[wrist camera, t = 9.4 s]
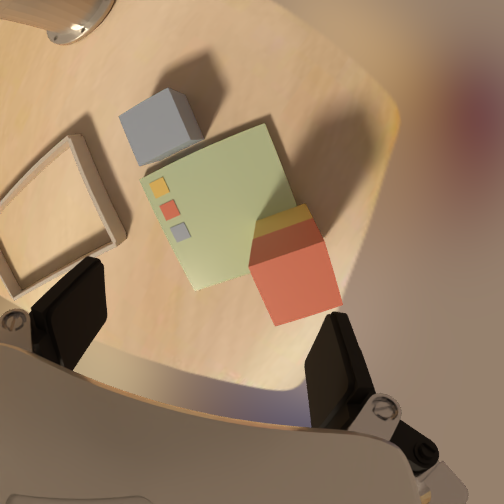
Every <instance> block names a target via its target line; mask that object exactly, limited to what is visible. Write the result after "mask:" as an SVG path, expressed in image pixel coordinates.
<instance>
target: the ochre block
mask: <svg viewBox="0 0 504 504" xmlns="http://www.w3.org/2000/svg"><path fill="white" fill-rule="evenodd" d="M311 218H313V217H312V215H311V213H310V211H309V209H308V207H307V206H306V204H302V205H299V206H296V207H293V208H291V209H288V210H285V211H282V212H279V213H277V214H274V215H271V216H268V217H266V218H263V219H260V220H257V221H256V223H255V230H254V236H253V239H255V238H257V237H260V236H263V235H266V234H269V233H271V232H274V231H277V230H280V229H283V228H285V227H288V226H291V225H294V224H297V223H300V222H302V221H305V220H308V219H311ZM313 220H314V219H313Z"/></svg>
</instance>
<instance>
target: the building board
mask: <svg viewBox="0 0 504 504" xmlns="http://www.w3.org/2000/svg"><path fill="white" fill-rule="evenodd" d="M140 183H141V185H142V187H143V189H144V191H145V193H146V196H147V198H148V200H149V202H150V204H151V206H152V208H153V211H154V213H155V215H156V217H157V219H158V221H159V223H160V225H161V227H162V229H163V231H164V233H165V235H166V237H167V239H168V241H169V243H170V245H171V247H172V249H173V251H174V253H175V255H176V257H177V259H178V261H179V262H180V264H181V266H182V268H183V270H184V272H185V274H186V276H187V277H188V279H189V281H190V283H191V285H192V287H193V289H194V290H195V291H197V290H200V289H204V288H207V287H210V286H213V285H216V284H219V283H222V282H225V281H228V280H231V279H234V278H237V277H241V276H244V275H247V274H250V273H251V272H250V270H249V268H248V265H249V259H250V252H251V246H252V240H253V236H254V230H255V223H256V221H257V220H260V219H263V218H266V217H268V216H271V215H274V214H277V213H279V212H282V211H285V210H288V209H291V208H293V207H296V206H297V205H296V202H295V199H294V197H293V194H292V191H291V188H290V186H289V183H288V180H287V178H286V175H285V173H284V170H283V167H282V165H281V162H280V160H279V157H278V155H277V152H276V150H275V147H274V145H273V142H272V140H271V137H270V135H269V132H268V130H267V128H266V125H265V123H264V124H261V125H258V126H256V127H253V128H250V129H248V130H245V131H243V132H240V133H238V134H235V135H233V136H230V137H228V138H226V139H223V140H221V141H219V142H216V143H214V144H212V145H209V146H207V147H205V148H203V149H200V150H198V151H196V152H194V153H192V154H190V155H187V156H185V157H183V158H181V159H179V160H177V161H175V162H173V163H171V164H169V165H167V166H165V167H163V168H161V169H159V170H157V171H155V172H153V173H151V174H149V175H148V176H146V177H144V178H142V179H140Z"/></svg>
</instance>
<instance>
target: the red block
mask: <svg viewBox="0 0 504 504" xmlns="http://www.w3.org/2000/svg"><path fill="white" fill-rule="evenodd" d="M248 268H249V270H250V272H251V275H252V277H253V279H254V281H255V283H256V286H257V288H258V290H259V292H260V294H261V297H262V299H263V301H264V303H265V305H266V308H267V310H268V312H269V314H270V316H271V319H272V321H273V323H274V325H275V326H278V325H281V324H285V323H288V322H291V321H295V320H298V319H301V318H304V317H308V316H311V315H314V314H317V313H320V312H323V311H326V310H329V309H332V308H335V307H338V306H341V305H343V303H342V300H341V296H340V292H339V289H338V285H337V282H336V278H335V275H334V271H333V268H332V265H331V261H330V258H329V255H328V251H327V248H326V245H325V242H324V240H323V237H322V235H321V233H320V231H319V229H318V227H317V226H316V224H315V222H314V220H313V218H311V219H308V220H305V221H302V222H300V223H297V224H294V225H291V226H288V227H285V228H283V229H280V230H277V231H274V232H271V233H269V234H266V235H263V236H260V237H257V238H255V239H253V240H252V246H251V252H250V259H249V265H248Z"/></svg>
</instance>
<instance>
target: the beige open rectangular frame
mask: <svg viewBox="0 0 504 504" xmlns="http://www.w3.org/2000/svg"><path fill="white" fill-rule="evenodd" d="M69 147H70V148H71V151H72V154H73V156H74V159H75V161H76V164H77V166H78V169H79V171H80V174H81V176H82V179H83V181H84V183H85V186H86V188H87V190H88V192H89V195H90V197H91V199H92V201H93V204H94V206H95V208H96V210H97V212H98V214H99V216H100V218H101V220H102V222H103V225H104V227H105V229H106V231H107V233H108V234H109V236H110V238H111V240H112V241H111V242H109V243H107V244H105V245H103V246H101V247H99V248H97V249H95V250H93V251H91V252H90V253H88V254H86V255H84V256H82V257H80V258H78V259H76V260H74V261H73V262H71V263H69V264H67V265H65V266H64V267H62V268H60V269H58V270H56V271H55V272H53V273H51V274H49V275H48V276H46V277H44V278H42V279H41V280H39V281H37V282H35V283H34V284H32V285H30V286H29V287H27V288H25V289H24V290H21V288H20V287H19V285H18V283H17V281H16V279H15V277H14V276H13V274H12V272H11V270H10V268H9V266H8V264H7V262H6V260H5V258H4V256H3V254H2V252H1V249H0V278H1V279H2V281H3V283H4V285H5V287H6V289H7V291H8V292H9V294H10V296H11V298H13V300H14V301H15V300H17V299H18V298H20V297H22V296H24V295H25V294H27V293H29V292H31V291H32V290H34V289H36V288H38V287H40V286H41V285H43V284H45V283H47V282H49V281H51V280H52V279H54V278H56V277H58V276H60V275H62V274H64V273H66V272H67V271H69V270H71V269H73V268H74V267H75V266H76V265H77V264H78V263H79V262H81V261H82V260H83V259H84V258H85V257H87V256H90V257H94V258H95V257H97V256H99V255H101V254H103V253H105V252H107V251H109V250H111V249H113V248H115V247H117V246H118V245H120V244H121V243H122V242H123V241H124V240H126V239H127V237H126V234H127V233H126V231H125V229H124V227H123V225H122V223H121V221H120V219H119V217H118V215H117V213H116V211H115V209H114V207H113V205H112V203H111V200H110V198H109V196H108V194H107V192H106V190H105V187H104V185H103V183H102V180H101V178H100V176H99V174H98V171H97V169H96V166H95V164H94V162H93V159H92V157H91V154H90V152H89V149H88V147H87V144H86V141H85V139H84V136H83V137H82V136H81V134H74V135H67V136H66V137H65V138H64V139H62V140H61V141H60V142H59V143H58V144H57V145H55V146H54V147H53V148H52V149H51V150H50V151H49V152H48V153H47V154H46V155H44V156H43V157H42V158H41V159H40V160H39V161H38V162H37V163H36V164H35V165H34V166H33V167H32V168H31V169H30V170H29V171H28V172H27V173H26V174H25V175H24V176H23V177H22V178H21V179H20V180H19V181H18V182H17V183H16V184H15V186H14V187H13V188H12V189H11V190H10V191H9V192H8V193H7V195H6V196H5V197H4V198H3V199H2V200H1V201H0V214H1V213H2V211H3V210H4V209H5V208H6V207H7V206H8V205H9V204H10V203H11V201H12V200H13V199H14V198H15V197H16V196H17V195H18V194H19V193H20V192H21V191H22V190H23V189H24V188H25V187H26V186H27V185H28V184H29V183H30V182H31V181H32V180H33V179H34V178H35V177H36V176H37V175H38V174H39V173H41V172H42V171H43V170H44V169H45V168H46V167H47V166H48V165H49V164H51V163H52V162H53V161H54V160H55V159H56V158H57V157H59V156H60V155H61V154H62V153H63V152H65V151H66V150H67V149H68V148H69Z"/></svg>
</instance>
